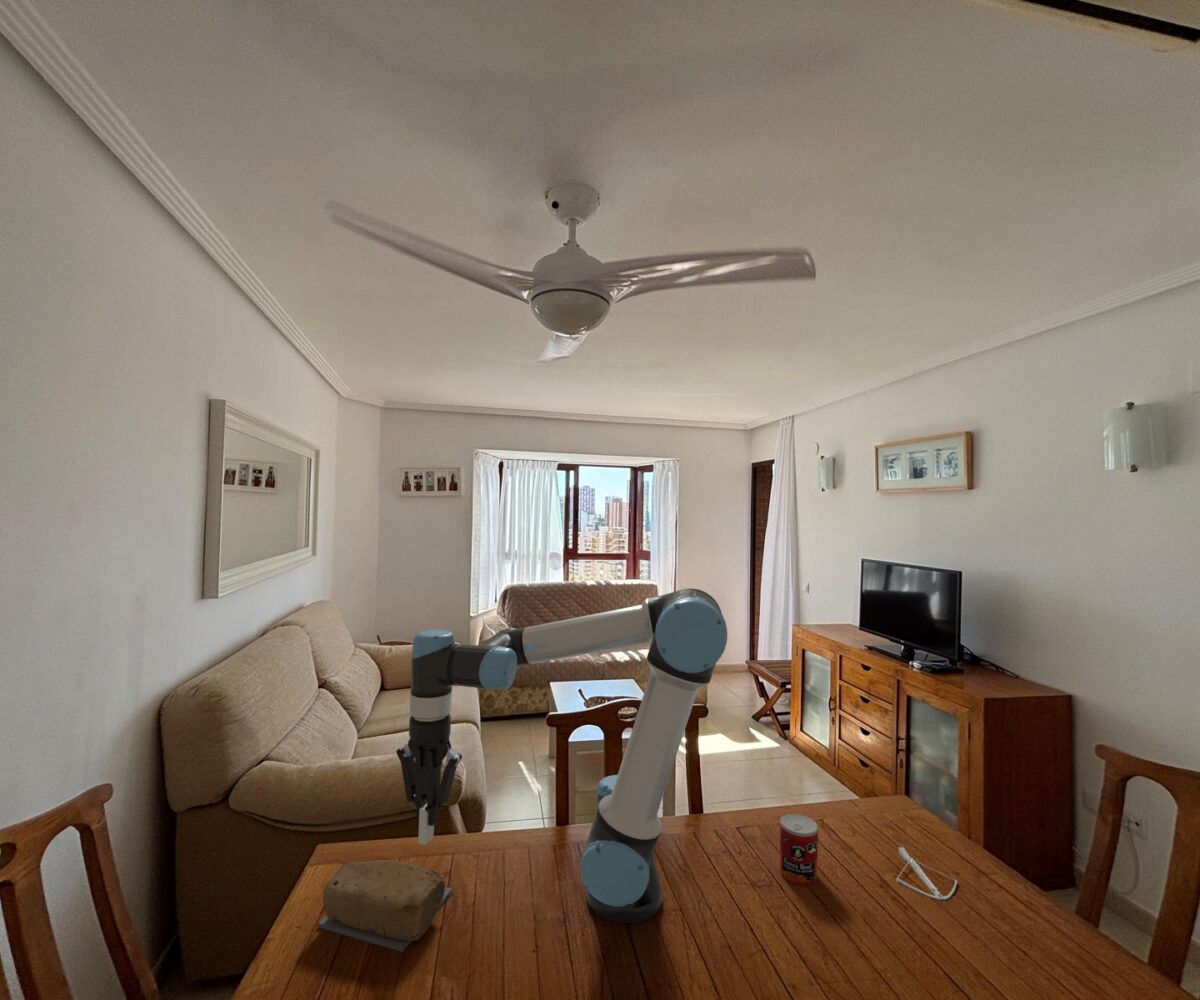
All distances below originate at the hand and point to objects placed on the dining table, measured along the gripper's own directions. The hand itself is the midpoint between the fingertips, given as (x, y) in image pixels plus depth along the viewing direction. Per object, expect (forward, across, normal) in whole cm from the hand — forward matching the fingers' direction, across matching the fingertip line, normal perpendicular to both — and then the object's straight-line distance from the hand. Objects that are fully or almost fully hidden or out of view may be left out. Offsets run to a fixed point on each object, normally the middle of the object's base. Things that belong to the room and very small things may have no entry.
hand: (425, 840), depth 107 cm
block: (+10, -4, +2) cm, 11 cm away
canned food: (+14, -68, -37) cm, 79 cm away
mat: (+15, +8, 0) cm, 17 cm away
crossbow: (+15, -94, -46) cm, 105 cm away
